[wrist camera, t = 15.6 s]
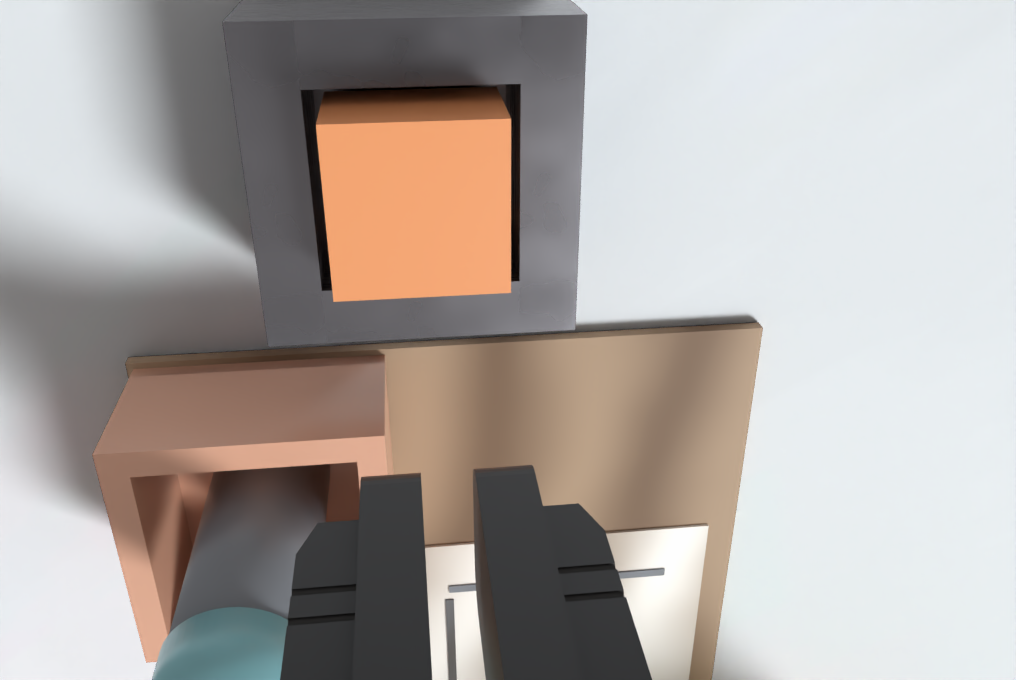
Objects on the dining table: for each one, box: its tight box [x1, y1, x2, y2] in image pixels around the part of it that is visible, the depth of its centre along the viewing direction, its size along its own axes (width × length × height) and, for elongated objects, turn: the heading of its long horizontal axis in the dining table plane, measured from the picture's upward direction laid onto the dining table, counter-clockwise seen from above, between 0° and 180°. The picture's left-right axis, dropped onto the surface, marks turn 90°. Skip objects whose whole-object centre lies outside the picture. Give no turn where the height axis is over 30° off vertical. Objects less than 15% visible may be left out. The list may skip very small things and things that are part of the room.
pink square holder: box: [92, 355, 394, 663], centre depth 28 cm, size 8×8×4 cm
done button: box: [316, 87, 511, 302], centre depth 22 cm, size 4×4×3 cm
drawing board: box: [125, 322, 763, 680], centre depth 34 cm, size 20×19×1 cm
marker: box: [152, 464, 330, 680], centre depth 26 cm, size 4×4×10 cm
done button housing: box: [222, 0, 587, 347], centre depth 24 cm, size 8×8×4 cm
